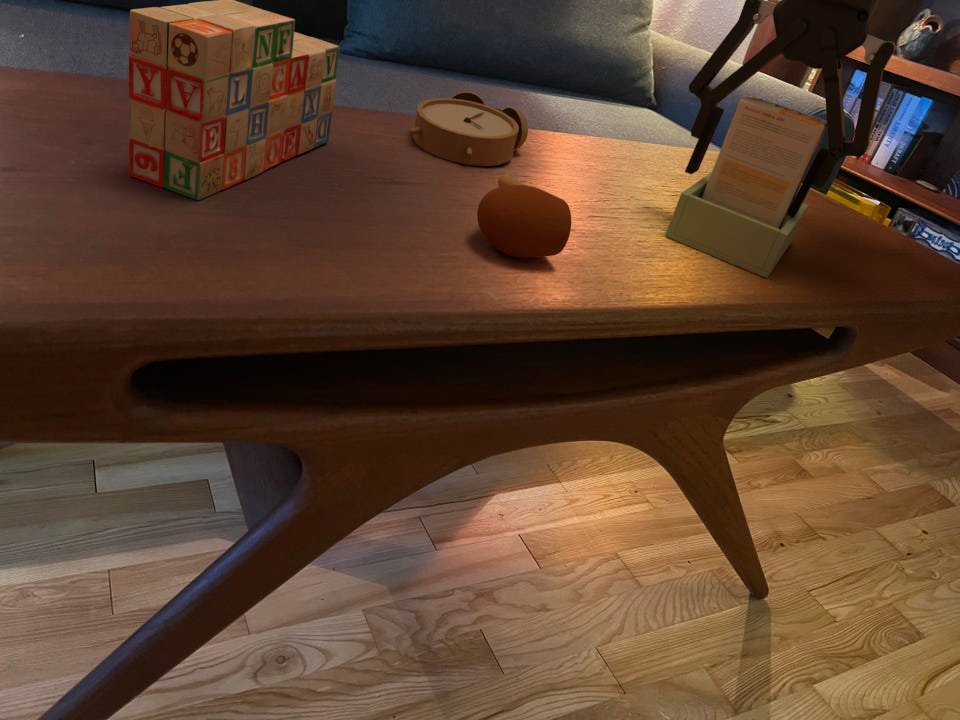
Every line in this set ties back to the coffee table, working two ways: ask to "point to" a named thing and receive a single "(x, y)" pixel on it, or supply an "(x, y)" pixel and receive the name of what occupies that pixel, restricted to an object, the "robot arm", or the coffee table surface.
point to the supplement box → (764, 160)
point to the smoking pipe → (524, 219)
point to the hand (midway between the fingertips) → (740, 191)
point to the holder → (730, 232)
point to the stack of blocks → (223, 94)
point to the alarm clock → (469, 130)
